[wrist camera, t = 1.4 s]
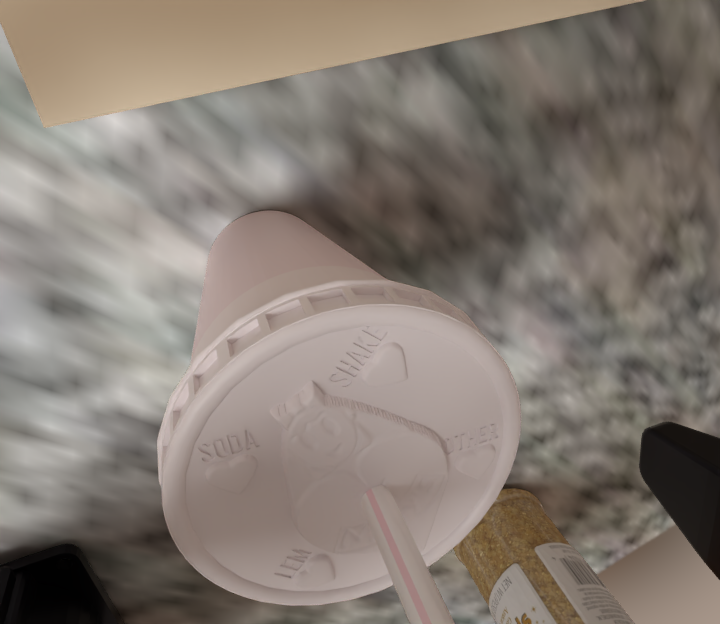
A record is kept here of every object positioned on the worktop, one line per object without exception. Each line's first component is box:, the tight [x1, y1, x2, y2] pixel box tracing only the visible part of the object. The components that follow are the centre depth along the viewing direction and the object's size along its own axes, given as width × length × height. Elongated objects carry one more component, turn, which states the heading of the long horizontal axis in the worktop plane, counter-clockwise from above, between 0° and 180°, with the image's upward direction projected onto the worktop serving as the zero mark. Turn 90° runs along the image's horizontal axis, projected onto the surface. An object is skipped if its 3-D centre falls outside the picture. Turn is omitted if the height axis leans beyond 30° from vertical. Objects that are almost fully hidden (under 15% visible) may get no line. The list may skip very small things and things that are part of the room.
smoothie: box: [157, 210, 521, 624], centre depth 12 cm, size 6×6×14 cm
